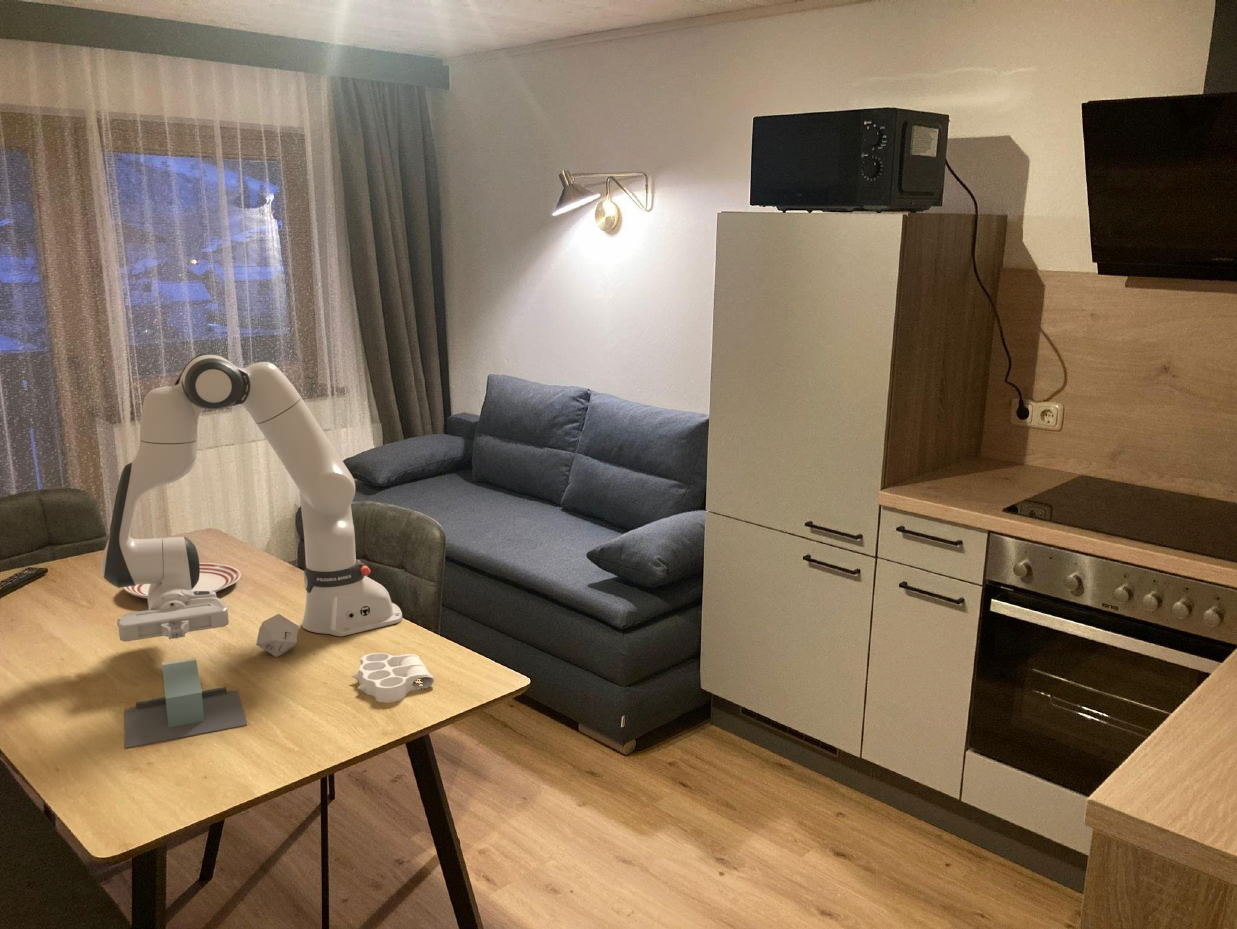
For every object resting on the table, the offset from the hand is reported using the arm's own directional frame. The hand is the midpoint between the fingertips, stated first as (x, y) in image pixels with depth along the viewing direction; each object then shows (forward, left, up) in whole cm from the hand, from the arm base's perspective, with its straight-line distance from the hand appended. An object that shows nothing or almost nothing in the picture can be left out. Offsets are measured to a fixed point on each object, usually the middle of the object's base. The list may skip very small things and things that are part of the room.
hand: (176, 634), depth 194 cm
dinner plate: (-4, -60, -12) cm, 62 cm away
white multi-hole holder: (-38, +16, -12) cm, 43 cm away
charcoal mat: (0, +15, -11) cm, 18 cm away
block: (0, +4, -7) cm, 8 cm away
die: (-20, -9, -11) cm, 25 cm away
